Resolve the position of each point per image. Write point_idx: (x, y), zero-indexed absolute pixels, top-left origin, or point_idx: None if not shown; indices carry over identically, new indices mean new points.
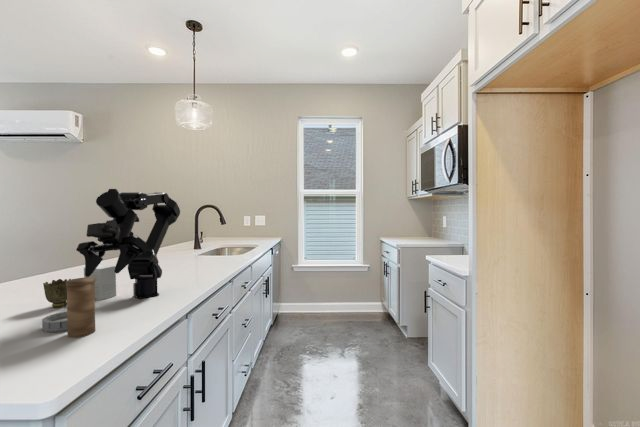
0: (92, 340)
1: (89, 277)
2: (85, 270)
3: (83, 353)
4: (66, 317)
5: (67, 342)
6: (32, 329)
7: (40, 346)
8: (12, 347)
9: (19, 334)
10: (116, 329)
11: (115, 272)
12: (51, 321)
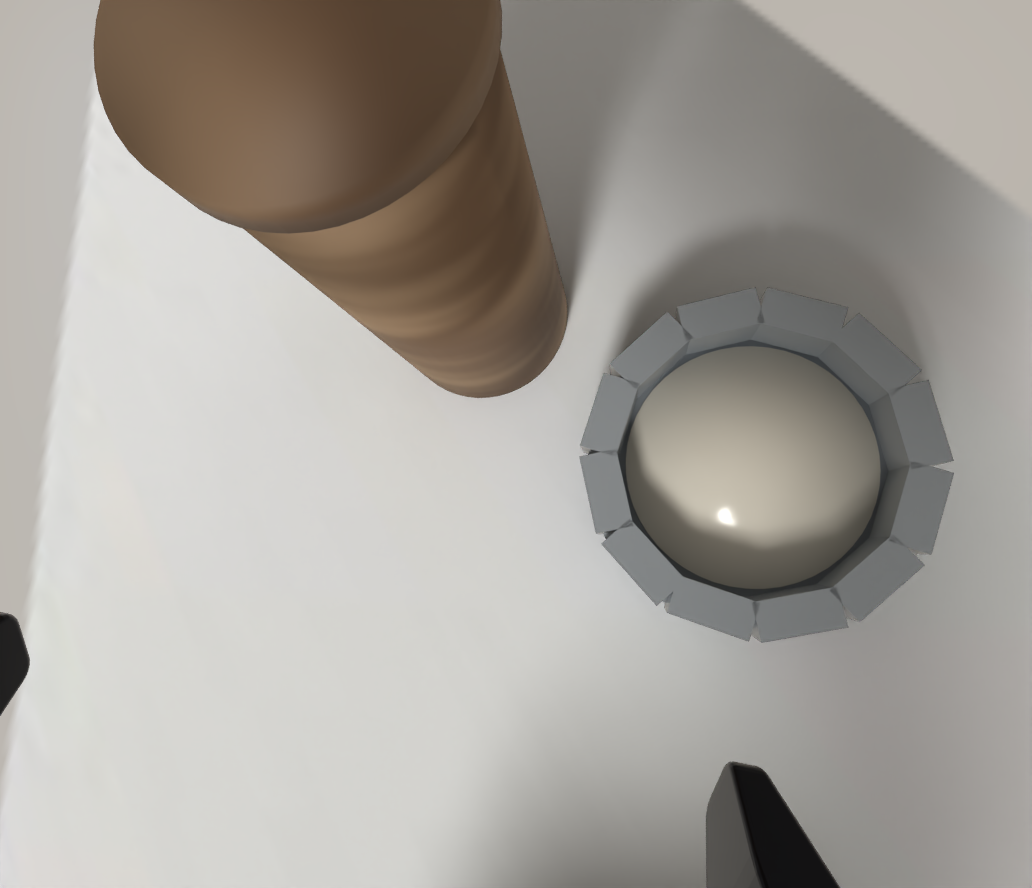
0: None
1: (262, 196)
2: (825, 880)
3: None
4: (830, 571)
5: None
6: (972, 384)
7: (600, 102)
8: (783, 74)
9: (977, 280)
10: (278, 388)
11: (9, 624)
12: (764, 311)
